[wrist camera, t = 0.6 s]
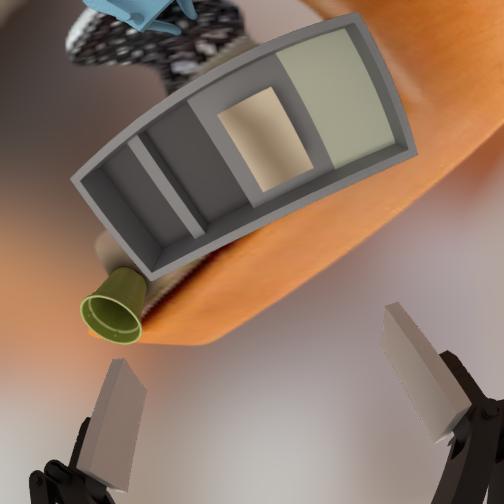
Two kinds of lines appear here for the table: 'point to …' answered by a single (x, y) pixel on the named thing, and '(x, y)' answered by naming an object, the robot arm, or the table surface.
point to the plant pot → (116, 307)
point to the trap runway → (228, 156)
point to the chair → (142, 12)
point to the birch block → (266, 139)
